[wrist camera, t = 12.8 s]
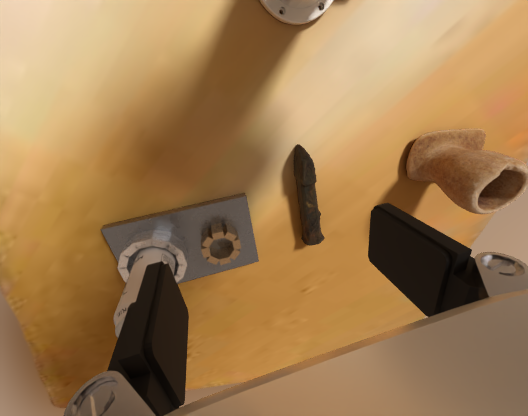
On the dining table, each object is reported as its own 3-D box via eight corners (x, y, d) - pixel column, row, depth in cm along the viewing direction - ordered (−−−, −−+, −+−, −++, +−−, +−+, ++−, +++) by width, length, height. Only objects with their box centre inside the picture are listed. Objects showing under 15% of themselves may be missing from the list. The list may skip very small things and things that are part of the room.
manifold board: (244, 192, 42) (249, 203, 38) (257, 256, 48) (262, 271, 44) (104, 225, 38) (93, 239, 34) (137, 289, 45) (131, 308, 41)
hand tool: (317, 232, 50) (328, 244, 46) (299, 237, 49) (308, 250, 45) (311, 139, 41) (324, 144, 37) (289, 144, 41) (300, 149, 36)
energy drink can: (137, 239, 39) (106, 312, 26) (176, 239, 41) (166, 308, 27) (139, 269, 41) (111, 351, 28) (176, 268, 43) (166, 344, 30)
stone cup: (394, 189, 50) (466, 223, 36) (409, 129, 45) (498, 143, 31) (453, 184, 53) (538, 213, 40) (473, 127, 48) (578, 138, 35)
